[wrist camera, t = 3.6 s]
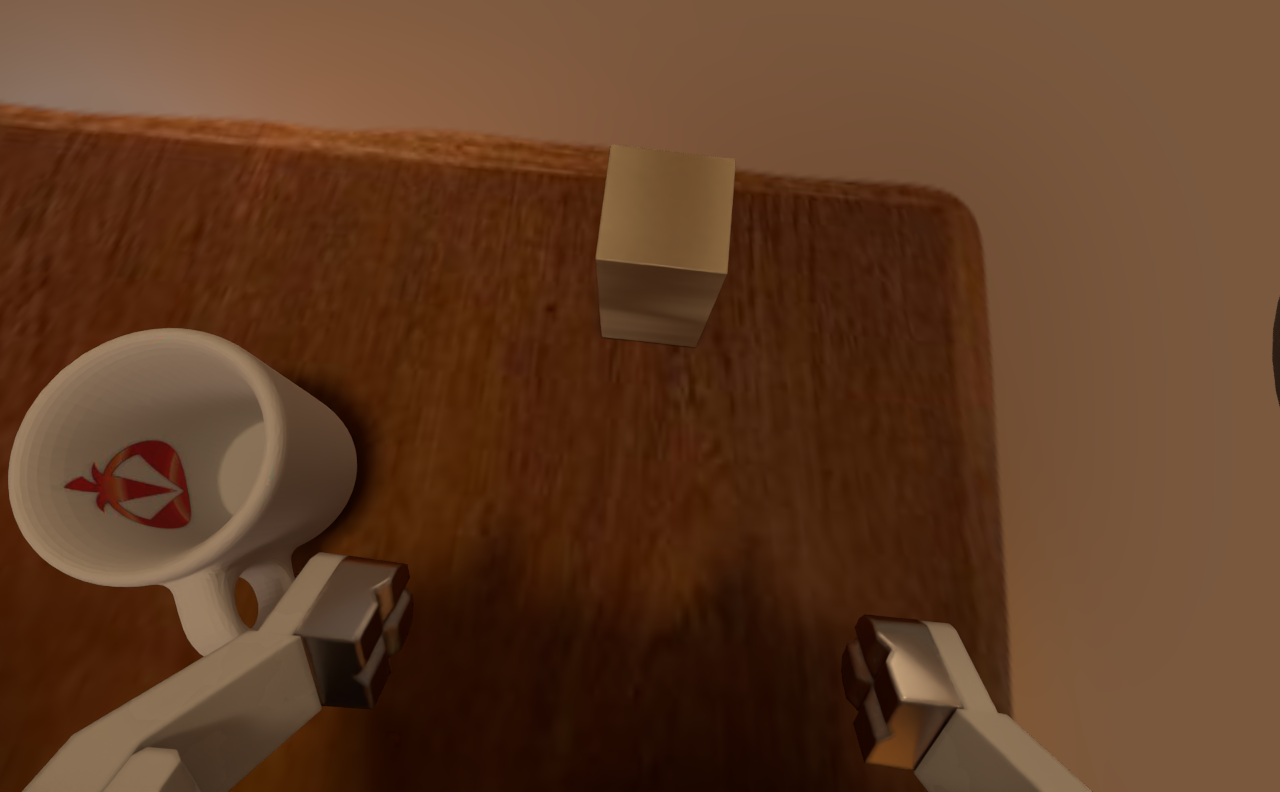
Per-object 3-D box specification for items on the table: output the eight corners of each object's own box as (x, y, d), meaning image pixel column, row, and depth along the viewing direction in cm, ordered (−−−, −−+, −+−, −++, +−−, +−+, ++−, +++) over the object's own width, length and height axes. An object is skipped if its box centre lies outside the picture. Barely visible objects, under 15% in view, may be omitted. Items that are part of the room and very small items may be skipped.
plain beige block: (703, 261, 28) (736, 158, 20) (695, 347, 27) (727, 274, 19) (612, 250, 28) (610, 143, 20) (601, 337, 27) (595, 258, 19)
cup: (418, 598, 24) (322, 630, 16) (224, 665, 23) (26, 734, 15) (361, 364, 26) (253, 294, 18) (182, 417, 25) (-11, 368, 18)
